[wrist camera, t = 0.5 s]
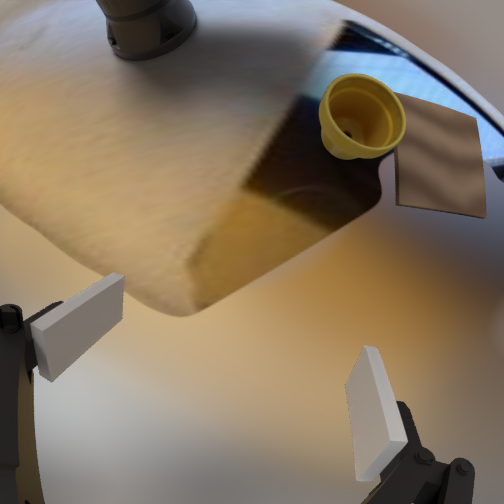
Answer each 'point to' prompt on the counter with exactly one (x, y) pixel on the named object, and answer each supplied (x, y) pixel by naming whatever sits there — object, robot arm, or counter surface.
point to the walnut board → (439, 160)
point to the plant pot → (360, 117)
